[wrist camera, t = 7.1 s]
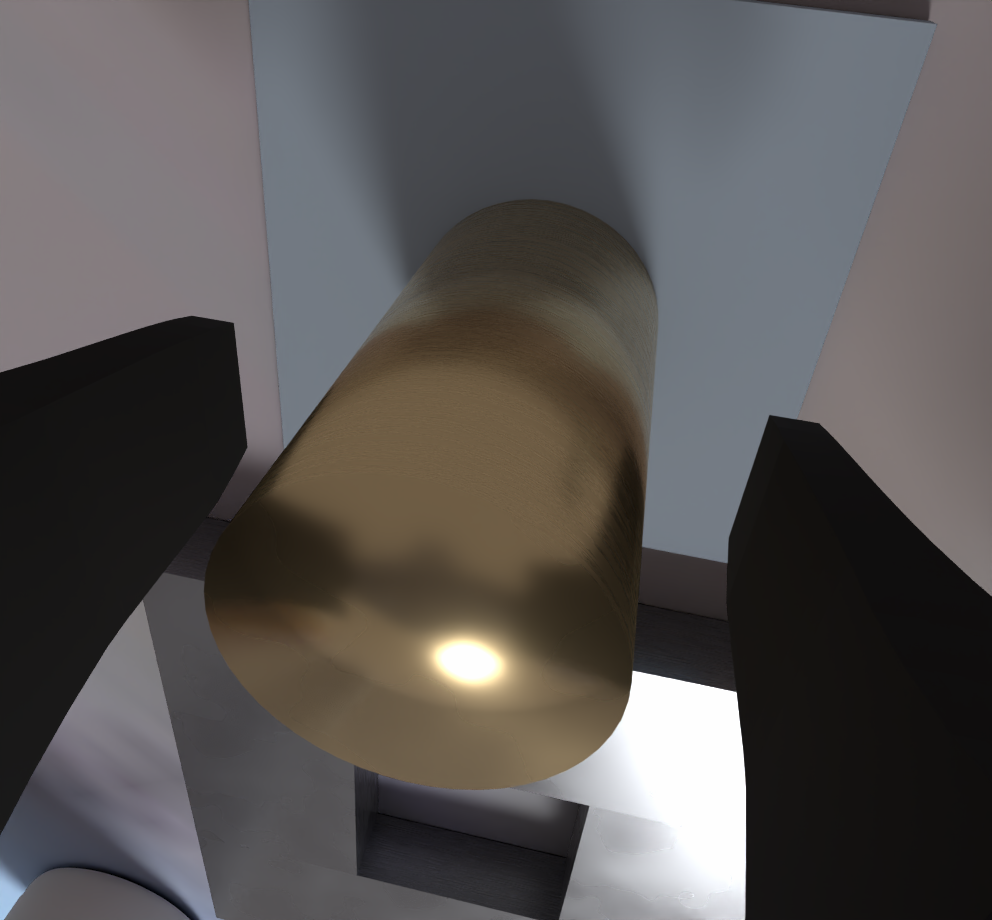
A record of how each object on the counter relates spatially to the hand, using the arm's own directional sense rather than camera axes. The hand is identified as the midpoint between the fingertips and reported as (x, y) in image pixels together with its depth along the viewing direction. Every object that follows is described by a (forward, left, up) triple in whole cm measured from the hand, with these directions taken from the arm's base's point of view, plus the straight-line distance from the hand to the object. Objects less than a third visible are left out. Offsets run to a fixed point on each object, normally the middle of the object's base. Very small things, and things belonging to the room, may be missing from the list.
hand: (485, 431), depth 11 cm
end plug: (0, 0, -4) cm, 4 cm away
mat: (0, 0, -5) cm, 5 cm away
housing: (0, +15, -5) cm, 16 cm away
